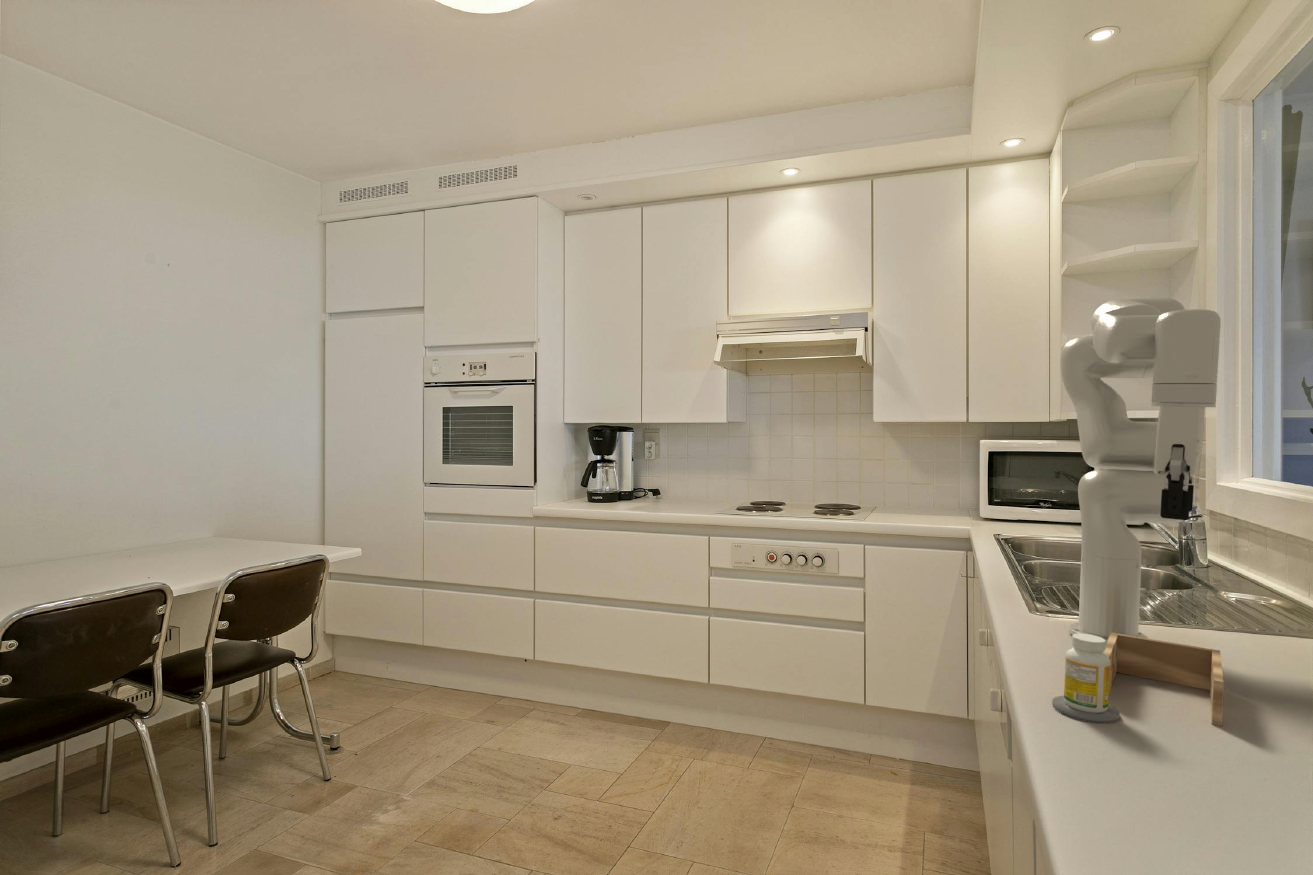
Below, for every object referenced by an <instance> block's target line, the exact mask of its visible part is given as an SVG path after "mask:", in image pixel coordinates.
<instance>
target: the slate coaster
mask: <svg viewBox="0 0 1313 875" xmlns="http://www.w3.org/2000/svg"><path fill="white" fill-rule="evenodd" d="M1051 702H1052V704H1051V705H1053V706H1052V708H1053V707H1054V708H1055V709H1054V708H1053V709H1054V710H1055V711H1057V712H1058V711H1059V712H1058V713H1060V712H1061V713H1060V714H1062V715H1064V716H1066V715H1067V716H1066V717H1069V718H1072V719H1075V720H1078V719H1079V720H1078V721H1084V722H1089V723H1094V724H1113V723H1117V722H1118V721H1119V720H1120V711H1119V710H1118V709H1117V708H1116V707H1114V706H1112V705H1111V704H1109V703H1108V709H1107V710H1106V711H1105V712H1103V713H1089V712H1084V711H1080V710H1077V709H1074V708H1072V707H1070V706H1068V705H1067V704H1066V703H1065V701H1064V695H1058V696H1055V697H1054V698H1052V700H1051Z"/></svg>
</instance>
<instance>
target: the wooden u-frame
mask: <svg viewBox="0 0 1313 875" xmlns="http://www.w3.org/2000/svg"><path fill="white" fill-rule="evenodd" d="M1103 653H1104V654H1106V655H1107V656H1108V657H1109V659H1110V682H1109V694H1110V692H1111V689H1112V687H1113V683H1114V680H1115V677H1116V674H1117V673H1121V674H1126V675H1131V676H1136V677H1141V678H1146V679H1151V680H1157V681H1161V682H1166V683H1171V684H1178V685H1181V686H1187V687H1192V688H1198V689H1202V690H1203V689H1204V690H1206V691H1207V690H1208V691H1209V694H1210V710H1211V711H1210V712H1211V725H1212V726H1216V727H1222V724H1223V722H1222V721H1223V720H1222V719H1223V702H1224V701H1223V699H1224V676H1223V675H1224V674H1223V663H1222V657H1221V650H1218V649H1213V648H1206V647H1200V646H1194V645H1190V644H1189V645H1188V644H1183V643H1182V644H1181V643H1177V642H1170V641H1163V640H1159V639H1152V638H1149V637H1148V638H1142V637H1136V636H1130V635H1124V634H1118V633H1112V632H1111V634H1110V636H1109V639H1108V641H1107V643H1106V649H1105V651H1104V652H1103Z"/></svg>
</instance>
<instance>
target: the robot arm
mask: <svg viewBox="0 0 1313 875" xmlns="http://www.w3.org/2000/svg"><path fill="white" fill-rule="evenodd" d="M1090 321H1091V324H1090V325H1091V330H1092V331H1093V334H1092V335H1086V336H1081V337H1076V338H1073V339H1071V340H1069V341H1067V342H1066V343H1065V344H1064V345H1063V348H1062V350H1061V354H1060V374H1061V379H1062V383H1063V385H1064V387H1065V391H1066V392H1067V394H1068V397H1069V398H1070V400H1071V402H1072V404H1073V407H1074V409H1075V413H1076V421H1077V422H1076V423H1077V428H1078V437H1079V443H1080V448H1081V449H1080V450H1081V455H1082V457H1083V461H1084V462H1085V463H1086V465H1088V466H1089V467H1092V468H1095V470H1091V471H1089V472H1087V473H1085V474H1083V476H1081V478H1080V480H1079V483H1078V485H1077V494H1078V496H1077V497H1078V504H1079V511H1080V521H1081V545H1080V546H1081V548H1080V549H1081V550H1080V551H1081V552H1080V553H1081V555H1080V556H1081V558H1080V580H1079V583H1080V584H1079V602H1078V604H1079V605H1078V606H1079V607H1078V622H1075V623H1071V624H1070V625H1069V626H1068V632H1069V634H1070V635H1071V636H1072V635H1074V634H1090V635H1094V636H1098V637H1101V638H1103V639H1105V640H1106V643H1107V641H1108V639H1109V636H1110V634H1111V632H1112V633H1118V634H1124V635H1130V636H1136V637H1142V638H1148V639H1149V637H1148V636H1147V635H1146V634H1145V633H1142V632H1141V631H1139V626H1140V625H1139V624H1140V623H1139V622H1140V621H1139V620H1140V604H1141V603H1140V602H1141V601H1140V599H1141V598H1140V597H1141V581H1142V580H1141V576H1142V555H1143V554H1142V553H1143V552H1142V551H1143V550H1142V547H1141V542H1140V541H1139V539H1138V538H1137V535H1135V534H1134V533H1133V532H1132V531H1131V529H1130V528H1129V527H1128V526H1127V523H1147V524H1148V523H1150V524H1177V523H1182V522H1184V521H1187V520H1188V519H1189V518H1190V514H1191V512H1192V511H1193V506H1194V504H1193V502H1194V489H1195V485H1193V476H1195V475H1196V474H1197V473H1198V469H1199V465H1200V460H1201V455H1202V450H1203V449H1202V448H1203V440H1204V439H1203V438H1204V426H1205V415H1206V414H1205V411H1206V408H1217V390H1218V375H1219V374H1218V371H1219V370H1218V368H1219V358H1220V356H1219V354H1220V342H1221V341H1220V339H1221V324H1222V323H1221V317H1220V315H1219V313H1218V312H1216V311H1214V310H1211V309H1199V308H1198V309H1195V308H1194V309H1185V306H1184V305H1183V304H1182V303H1181V302H1180V301H1179V300H1177V299H1175V298H1170V297H1158V298H1157V297H1156V298H1155V297H1147V298H1118V299H1117V298H1116V299H1113V300H1109V301H1106V302H1105V303H1102V304H1101V305H1100V306H1099V307H1098V308H1096V310H1095V311H1094V312H1093V314H1092V316H1091V320H1090ZM1104 378H1105V379H1109V378H1110V379H1146V378H1147V379H1148V378H1152V385H1151V386H1152V389H1151V391H1152V392H1151V407H1159V412H1158V416H1157V417H1158V419H1157V421H1138V420H1137V421H1134V420H1131V419H1130V418H1129V417H1128V414H1127V412H1128V411H1127V407H1126V402H1125V400H1124V399H1123V397H1122V396H1121V395H1120V394H1119V393H1118V391H1116V390H1115V389H1114V388H1113V387H1111V386H1110V385H1108V384H1107V383H1106V382H1104V380H1102V379H1104Z"/></svg>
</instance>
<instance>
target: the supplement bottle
mask: <svg viewBox="0 0 1313 875" xmlns="http://www.w3.org/2000/svg"><path fill="white" fill-rule="evenodd" d="M1071 636H1072V638H1071V645H1072V648H1069V649H1068V650H1067V651H1066V653H1065V665H1064V666H1065V667H1064V670H1065V671H1064V685H1063V686H1064V688H1063V696H1064V701H1065V703H1066V704H1067V705H1068V706H1070V707H1072V708H1074V709H1077V710H1080V711H1084V712H1089V713H1103V712H1105V711H1106V710H1107V709H1108V704H1109V698H1110V693H1109V682H1110V659H1109V657H1108V656H1107V655H1106V654H1104V653H1103V652H1104V651H1105V649H1106V640H1105V639H1103V638H1101V637H1098V636H1094V635H1090V634H1074V635H1071Z"/></svg>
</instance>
